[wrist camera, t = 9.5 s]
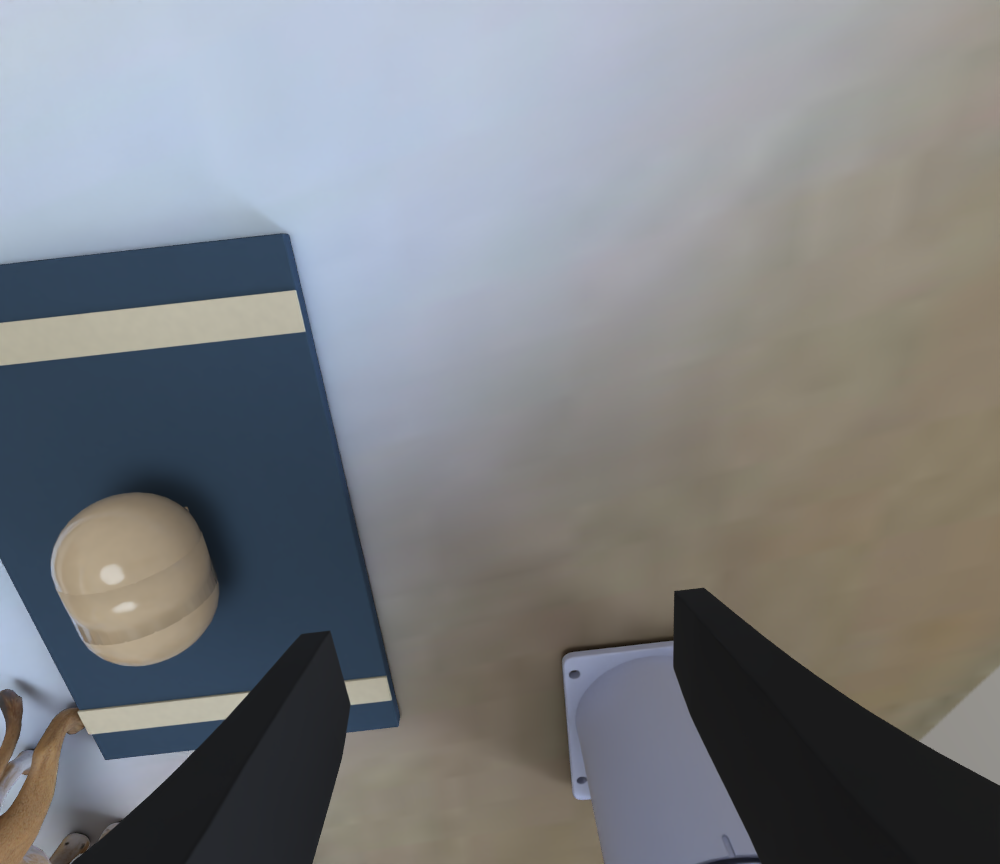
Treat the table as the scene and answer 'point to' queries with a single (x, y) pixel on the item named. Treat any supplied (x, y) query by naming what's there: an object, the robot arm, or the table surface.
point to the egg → (135, 578)
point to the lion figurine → (34, 787)
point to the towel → (184, 472)
